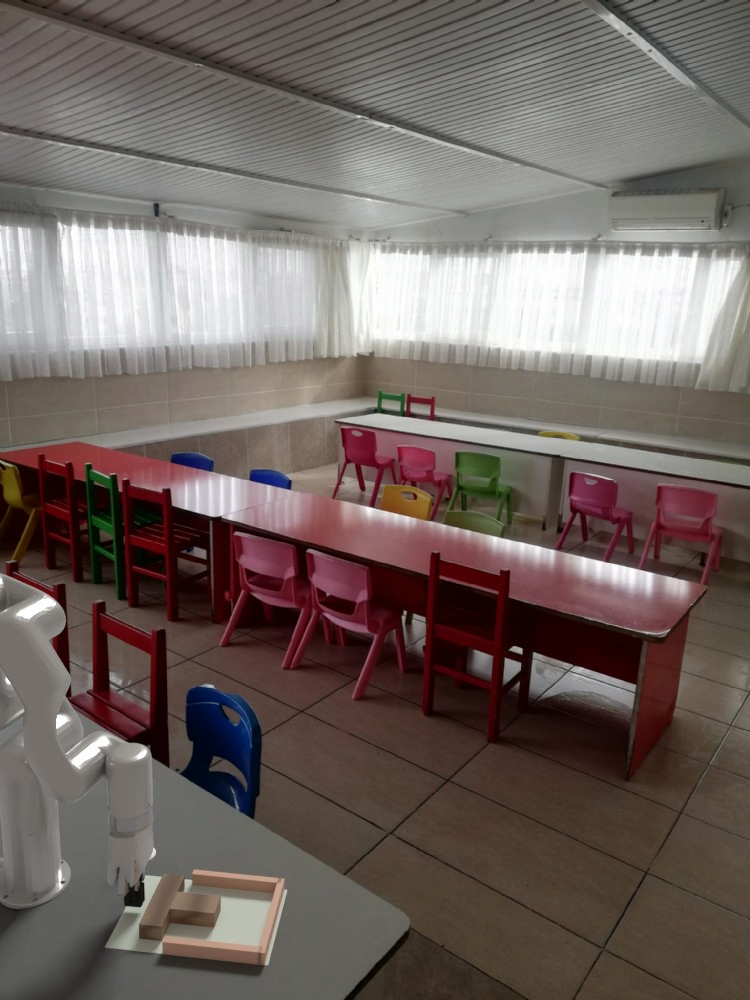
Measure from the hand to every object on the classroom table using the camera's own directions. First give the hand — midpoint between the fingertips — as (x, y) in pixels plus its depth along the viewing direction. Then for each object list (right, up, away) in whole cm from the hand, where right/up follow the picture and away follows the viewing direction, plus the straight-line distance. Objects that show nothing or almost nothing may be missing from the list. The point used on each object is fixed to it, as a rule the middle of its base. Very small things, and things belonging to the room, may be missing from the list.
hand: (134, 903), depth 134 cm
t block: (+9, -2, 0) cm, 9 cm away
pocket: (+17, -3, -1) cm, 17 cm away
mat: (+12, -3, 0) cm, 12 cm away
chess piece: (-3, +1, +14) cm, 15 cm away
